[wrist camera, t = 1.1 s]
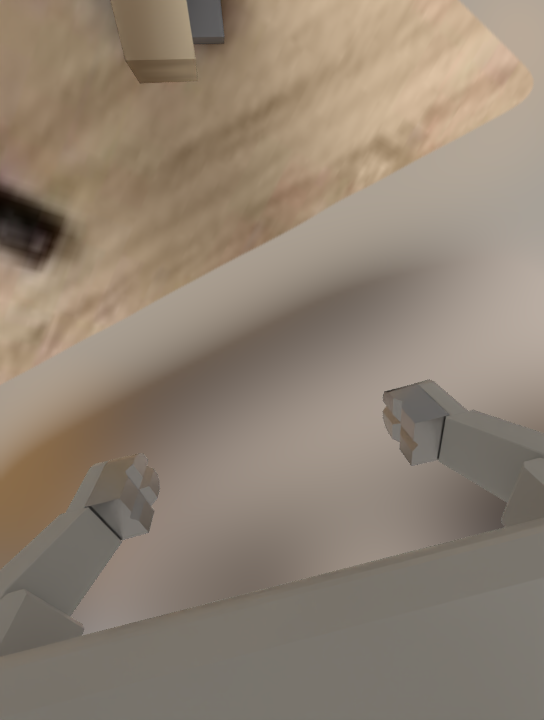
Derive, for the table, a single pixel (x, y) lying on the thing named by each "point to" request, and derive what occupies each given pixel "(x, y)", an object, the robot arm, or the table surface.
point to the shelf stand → (206, 21)
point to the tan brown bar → (156, 39)
